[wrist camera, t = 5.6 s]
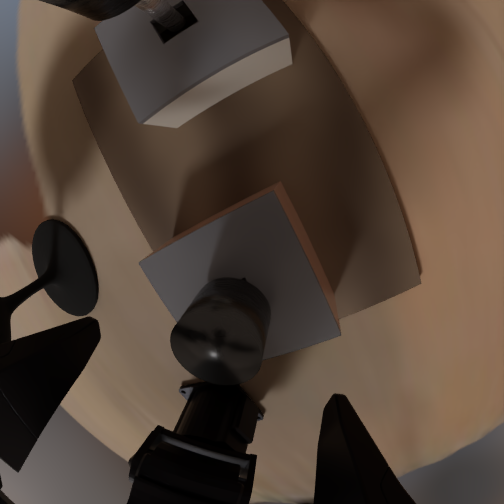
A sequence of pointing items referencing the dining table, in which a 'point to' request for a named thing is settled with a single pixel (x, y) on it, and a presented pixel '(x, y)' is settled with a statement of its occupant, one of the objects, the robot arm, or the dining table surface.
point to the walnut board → (264, 165)
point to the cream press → (192, 56)
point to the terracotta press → (252, 268)
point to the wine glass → (56, 274)
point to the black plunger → (115, 3)
